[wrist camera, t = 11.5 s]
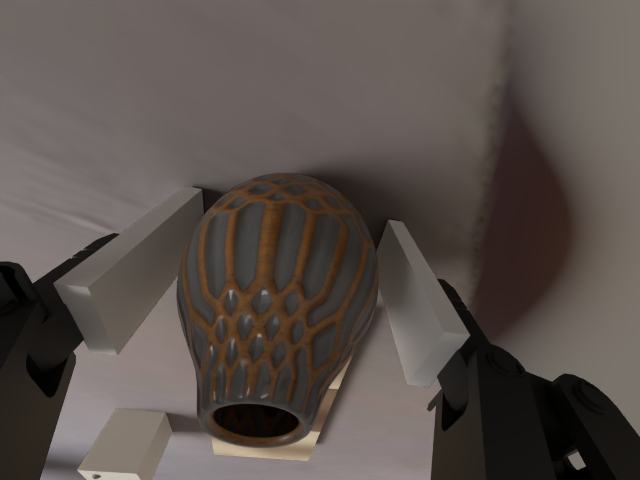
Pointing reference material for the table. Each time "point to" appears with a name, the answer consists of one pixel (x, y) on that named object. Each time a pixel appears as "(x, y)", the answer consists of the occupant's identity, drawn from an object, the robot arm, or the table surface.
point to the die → (128, 446)
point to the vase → (274, 305)
